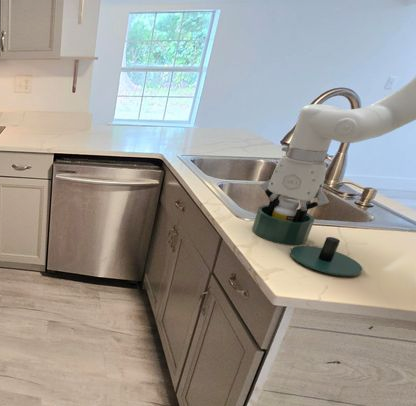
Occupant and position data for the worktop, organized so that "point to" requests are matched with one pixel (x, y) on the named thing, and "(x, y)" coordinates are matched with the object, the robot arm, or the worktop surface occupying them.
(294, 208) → the supplement bottle
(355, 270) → the lid
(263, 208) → the pot
